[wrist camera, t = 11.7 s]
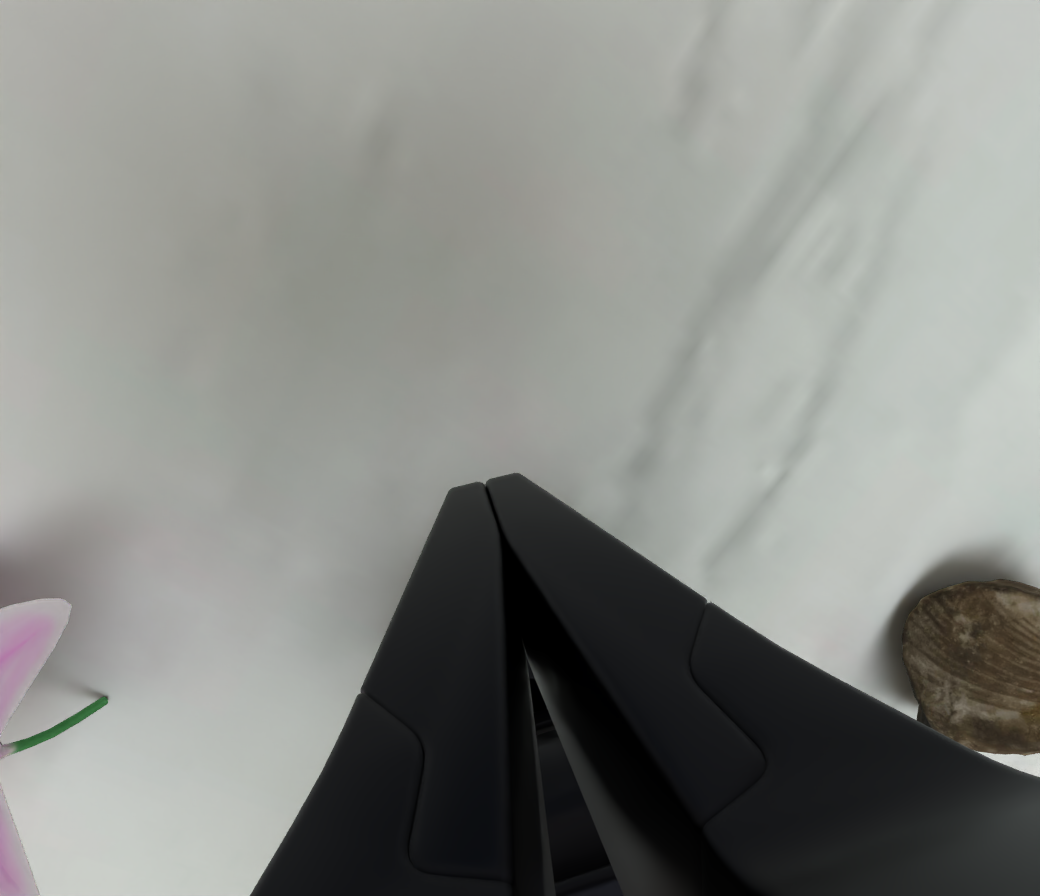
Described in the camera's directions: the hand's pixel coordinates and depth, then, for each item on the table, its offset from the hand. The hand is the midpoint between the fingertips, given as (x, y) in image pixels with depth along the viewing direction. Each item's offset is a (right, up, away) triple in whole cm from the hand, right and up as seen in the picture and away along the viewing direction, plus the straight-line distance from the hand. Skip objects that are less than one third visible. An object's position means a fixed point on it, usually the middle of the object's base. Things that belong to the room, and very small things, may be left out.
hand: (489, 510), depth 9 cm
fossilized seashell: (+20, -7, +24) cm, 32 cm away
